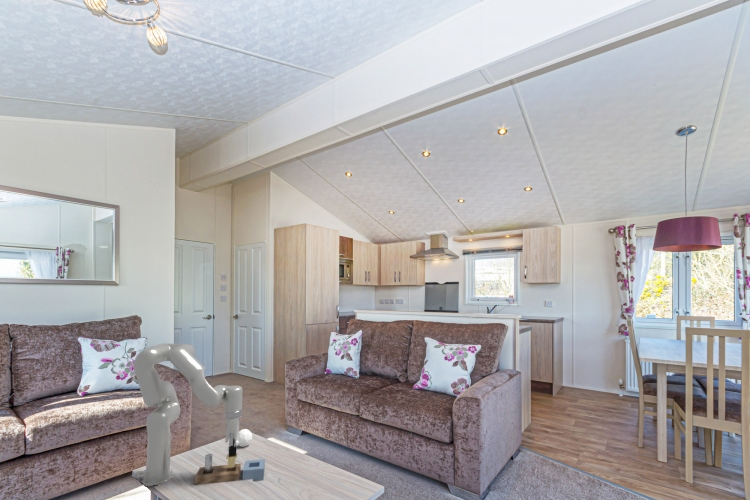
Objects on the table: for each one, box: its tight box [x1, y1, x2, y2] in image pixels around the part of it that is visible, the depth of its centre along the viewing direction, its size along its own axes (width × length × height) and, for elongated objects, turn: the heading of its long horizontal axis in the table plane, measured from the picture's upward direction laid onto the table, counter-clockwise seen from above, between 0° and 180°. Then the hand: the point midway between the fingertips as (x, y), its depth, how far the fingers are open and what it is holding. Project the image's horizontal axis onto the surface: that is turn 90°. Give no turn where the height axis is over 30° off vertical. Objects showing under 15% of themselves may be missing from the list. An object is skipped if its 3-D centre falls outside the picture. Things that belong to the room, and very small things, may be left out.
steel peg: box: [204, 453, 213, 474], centre depth 176 cm, size 3×3×10 cm
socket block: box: [194, 463, 242, 486], centre depth 177 cm, size 18×10×4 cm, turn 103°
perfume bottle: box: [236, 428, 253, 448], centre depth 213 cm, size 9×9×12 cm
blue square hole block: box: [242, 458, 266, 482], centre depth 180 cm, size 9×10×5 cm
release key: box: [226, 452, 238, 468], centre depth 178 cm, size 4×4×5 cm
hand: (232, 454), depth 179 cm, fingers closed
